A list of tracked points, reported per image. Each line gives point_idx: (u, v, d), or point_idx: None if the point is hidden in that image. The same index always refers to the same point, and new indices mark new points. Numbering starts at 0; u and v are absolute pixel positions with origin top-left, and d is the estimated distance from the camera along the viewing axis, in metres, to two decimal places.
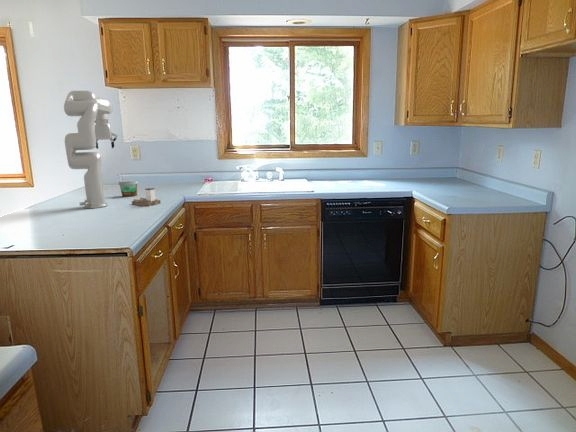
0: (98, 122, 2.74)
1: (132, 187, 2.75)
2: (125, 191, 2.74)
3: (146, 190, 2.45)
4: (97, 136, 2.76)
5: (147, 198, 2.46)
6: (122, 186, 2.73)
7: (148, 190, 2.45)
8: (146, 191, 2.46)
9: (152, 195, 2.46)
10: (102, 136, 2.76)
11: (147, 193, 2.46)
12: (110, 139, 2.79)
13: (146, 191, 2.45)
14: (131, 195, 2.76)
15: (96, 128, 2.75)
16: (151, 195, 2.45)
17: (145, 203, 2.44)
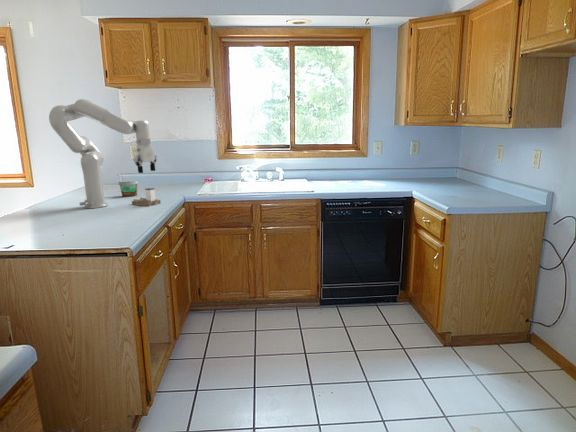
0: (145, 142, 2.39)
1: (132, 187, 2.75)
2: (125, 191, 2.74)
3: (146, 190, 2.45)
4: (144, 158, 2.40)
5: (147, 198, 2.46)
6: (122, 186, 2.73)
7: (148, 190, 2.45)
8: (146, 191, 2.46)
9: (152, 195, 2.46)
10: (148, 158, 2.42)
11: (147, 193, 2.46)
12: (152, 161, 2.48)
13: (146, 191, 2.45)
14: (131, 195, 2.76)
15: (143, 149, 2.39)
16: (151, 195, 2.45)
17: (145, 203, 2.44)
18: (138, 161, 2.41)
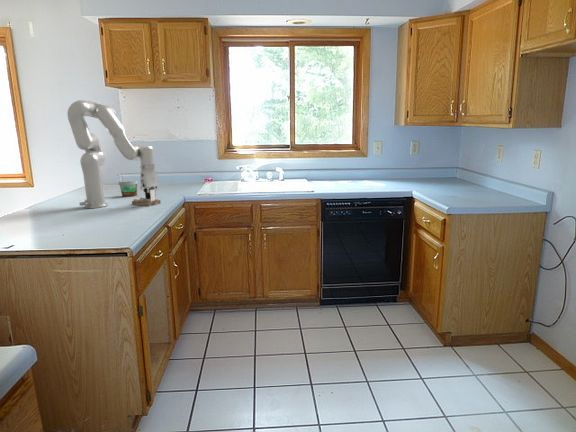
0: (150, 168, 2.41)
1: (132, 187, 2.75)
2: (125, 191, 2.74)
3: None
4: (148, 184, 2.41)
5: None
6: (122, 186, 2.73)
7: None
8: None
9: (152, 195, 2.46)
10: (152, 183, 2.44)
11: None
12: (154, 187, 2.48)
13: None
14: (131, 195, 2.76)
15: (147, 175, 2.40)
16: (151, 195, 2.45)
17: (145, 203, 2.44)
18: None
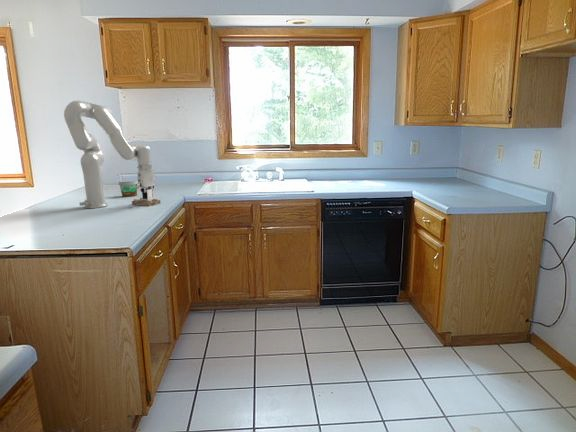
0: (147, 168, 2.42)
1: (132, 187, 2.75)
2: (125, 191, 2.74)
3: None
4: (145, 183, 2.42)
5: None
6: (122, 186, 2.73)
7: None
8: None
9: (149, 194, 2.47)
10: (149, 183, 2.45)
11: None
12: (151, 187, 2.49)
13: None
14: (131, 195, 2.76)
15: (144, 174, 2.41)
16: (148, 195, 2.47)
17: (145, 203, 2.44)
18: (141, 187, 2.45)
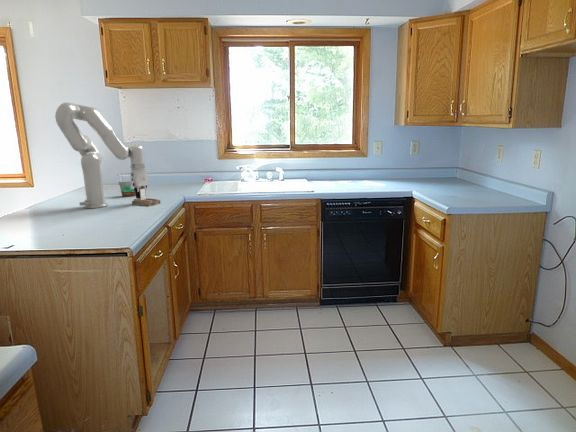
0: (139, 167, 2.44)
1: None
2: (125, 191, 2.74)
3: None
4: (138, 183, 2.45)
5: None
6: (122, 186, 2.73)
7: None
8: None
9: (142, 194, 2.50)
10: (142, 182, 2.47)
11: None
12: (144, 186, 2.51)
13: None
14: (131, 195, 2.76)
15: (137, 174, 2.44)
16: (141, 195, 2.49)
17: (145, 203, 2.44)
18: None
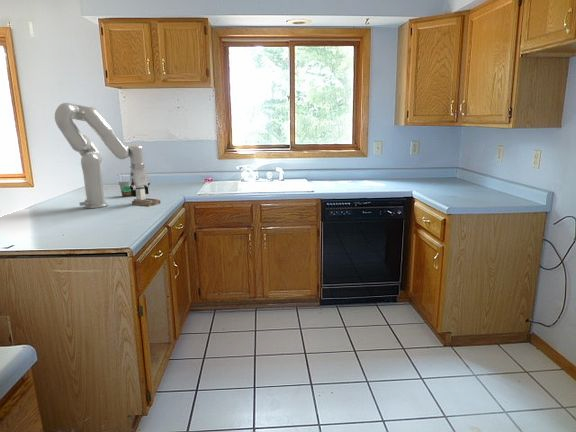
0: (139, 167, 2.44)
1: None
2: (125, 191, 2.74)
3: (136, 189, 2.49)
4: (138, 183, 2.45)
5: (137, 197, 2.50)
6: (122, 186, 2.73)
7: (138, 189, 2.48)
8: (136, 190, 2.49)
9: (142, 194, 2.50)
10: (141, 182, 2.47)
11: (137, 192, 2.49)
12: (146, 184, 2.53)
13: (136, 190, 2.49)
14: (131, 195, 2.76)
15: (137, 174, 2.44)
16: (141, 195, 2.49)
17: (145, 203, 2.44)
18: (132, 185, 2.46)
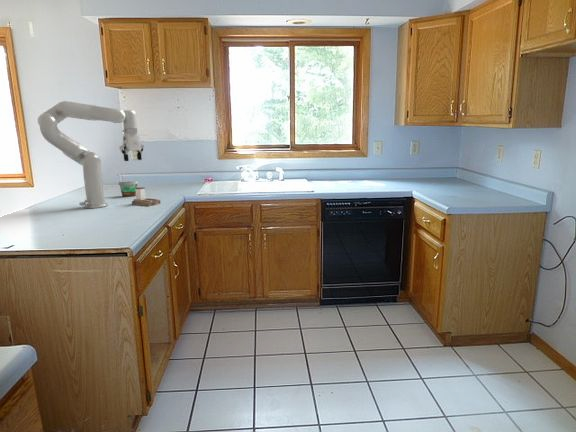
0: (132, 131, 2.47)
1: (132, 187, 2.75)
2: (125, 191, 2.74)
3: (136, 189, 2.49)
4: (130, 147, 2.47)
5: (137, 197, 2.50)
6: (122, 186, 2.73)
7: (138, 189, 2.48)
8: (136, 190, 2.49)
9: (142, 194, 2.50)
10: (134, 146, 2.50)
11: (137, 192, 2.49)
12: (139, 150, 2.55)
13: (136, 190, 2.49)
14: (131, 195, 2.76)
15: (129, 138, 2.46)
16: (141, 195, 2.49)
17: (145, 203, 2.44)
18: (124, 149, 2.48)
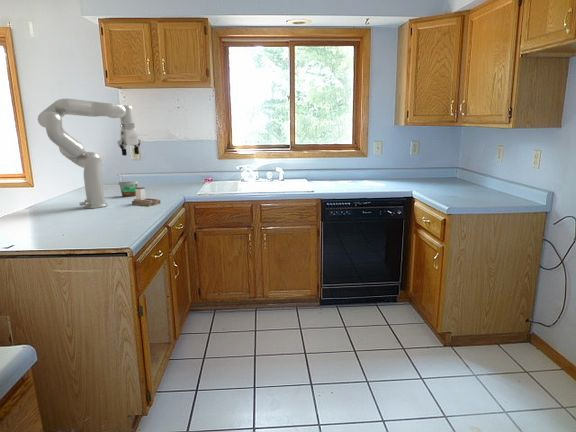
0: (129, 126, 2.51)
1: (132, 187, 2.75)
2: (125, 191, 2.74)
3: (136, 189, 2.49)
4: (128, 141, 2.51)
5: (137, 197, 2.50)
6: (122, 186, 2.73)
7: (138, 189, 2.48)
8: (136, 190, 2.49)
9: (142, 194, 2.50)
10: (132, 141, 2.54)
11: (137, 192, 2.49)
12: (136, 144, 2.59)
13: (136, 190, 2.49)
14: (131, 195, 2.76)
15: (127, 133, 2.50)
16: (141, 195, 2.49)
17: (145, 203, 2.44)
18: (122, 144, 2.52)
